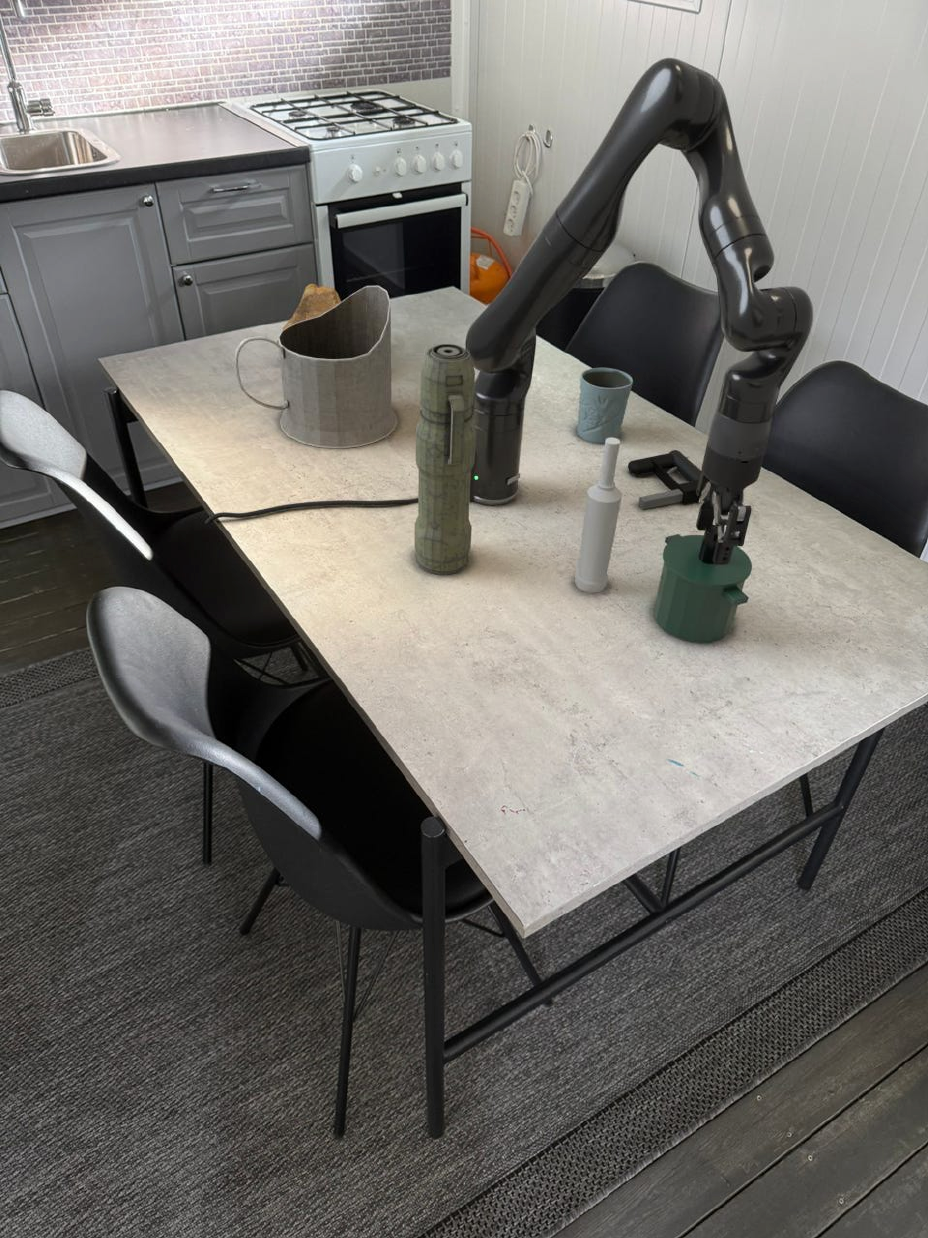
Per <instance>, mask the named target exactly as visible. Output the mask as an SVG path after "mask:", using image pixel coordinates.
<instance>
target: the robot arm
mask: <svg viewBox="0 0 928 1238" xmlns="http://www.w3.org/2000/svg"><path fill="white" fill-rule="evenodd" d="M658 145H661V146H664V147H667V148H670V149H672V150H677V151H679V152H680V153H681V154H682V155H683V157H684V158H685V160H686V161H687V163H688V164H689V166H690V168H691V170H692V172H693V173H694V176H695V179H696V182H697V185H698V191H699V197H698V198H699V199H698V211H697V221H698V222H697V223H698V230H699V233H700V234H699V235H700V237H701V240H702V243H703V246H704V249H705V251H706V254H707V256H708V259H709V261H710V264H711V266H712V268H713V271H714V274H715V276H716V286H717V294H718V304H719V305H718V306H719V321H720V328H721V331H722V335H723V337H724V338H725V340H726V341H727V343H728V344H729V345H730V346H731V347H732V348H734V350H737V351H739V352H742V353H751V354H750V355H748V356H747V357H745V358H743V359H741V360H739V361H737V362H735V363H733V364H731V365H730V366H729V367H728V368H727V370H726V371H725V373H724V377H723V380H722V384H721V387H720V392H719V397H718V401H717V406H716V410H715V412H714V415H713V417H712V420H711V424H710V427H709V433H708V436H707V441H706V446H705V451H704V455H703V459H702V464H701V469H700V470H701V474H700V478H699V482H698V486H697V490H696V494H697V496H701V497H700V498H699V502H698V506H699V509H698V514H697V519H696V522H695V528H696V529H697V531H700V532H701V531H702V532H705V528H706V526H708V525H716V526H718V540H717V543H716V547H715V551H714V555H713V562H714V564H716V565H726V564H728V563H729V562H730V558H731V554H732V550H733V547H734V546H738V547H743V546H744V544H745V540H746V536H747V532H748V527H749V524H750V519H751V516H752V511H753V510H752V506H751V505H744V502H745V496H744V495H745V494H744V491H745V489H746V488H748V487H749V486H751V485H754V484H755V483H756V482H757V481H758V480H759V477H760V474H761V469H762V465H763V462H764V458H765V455H766V450H767V446H768V443H769V440H770V436H771V431H772V423H773V418H774V413H775V409H776V405H777V402H778V400H779V399H778V398H779V396H780V390H781V388H782V385H783V383H784V382H785V380H786V379H787V377H788V375H789V374H790V372H791V371H792V368H793V367H794V365H795V363H796V361H797V359H798V358H799V357H800V354H801V353H802V351H803V349H804V347H805V345H806V343H807V341H808V339H809V337H810V335H811V332H812V327H813V323H814V306H813V302H812V300H811V297H810V296H809V294H808V293H807V292H806V291H805V289H803V288H801V287H799V286H793V285H787V286H786V285H785V286H777V287H776V286H775V287H768V288H767V287H766V288H758V287H757V285H756V284H755V283H758V282H759V281H761V280H762V279H763V278H764V277H766V276H767V275H768V274H769V272H771V270H772V269H773V267H774V264H775V252H774V249H773V245H772V243H771V241H770V239H769V236H768V234H767V232H766V229H765V227H764V224H763V222H762V220H761V216H760V214H759V212H758V211H757V208H756V205H755V203H754V200H753V198H752V195H751V192H750V189H749V186H748V182H747V179H746V177H745V173H744V170H743V166H742V162H741V158H740V154H739V149H738V144H737V141H736V137H735V132H734V127H733V123H732V118H731V112H730V108H729V103H728V99H727V97H726V93H725V91H724V88H723V86H722V84H721V82H720V81H719V80H718V79H717V78H716V77H715V76H714V75H712V74H711V73H709V72H707V71H706V70H703V69H700V68H698V67H696V66H694V65H692V64H690V63H688V62H686V61H683V60H682V59H678V58H675V57H666V58H661V59H658V61H656V62H654V63H653V64H651V66H650V67H648V69H647V70H646V71H644V72H643V74H642V75H641V76H640V78H639V79H638V81H637V82H636V83H635V85H634V87H633V88H632V90H630V93H629V95H628V96H627V98H626V99H625V101H624V103H623V105H622V106H621V108H620V110H619V112H618V114H617V115H616V117H615V119H614V121H613V122H612V124H611V125H610V128H609V129H608V131H607V133H606V135H605V136H604V138H603V139H602V141H601V143H600V145H599V146H598V148H597V149H596V151H595V153H594V154H593V155H592V157H591V159H590V160H589V162H588V163H587V164H586V166H585V168H584V169H583V170H582V172H581V173H580V175H579V176H578V178H577V180H576V181H575V182H574V184H573V185H572V187H571V188H570V190H569V191H568V192H567V194H566V195H565V196H564V197H563V199H562V200H561V201H560V203H559V204H558V205H557V206H556V208H555V209H554V211H553V212H552V214H551V215H550V216H549V217H548V219H547V221H546V222H545V223H544V225H543V227H542V228H541V230H540V231H539V233H538V234H537V236H536V237H535V239H534V240H533V242H532V243H531V245H530V247H529V248H528V250H527V251H526V253H524V256H523V257H522V259H521V260H520V262H519V264H518V265H517V267H516V268H515V271H514V272H513V273H512V276H511V277H510V279H509V280H508V281H507V283H506V284H505V286H504V287H503V288H502V290H501V291H500V292H499V293H498V294H497V295H496V297H495V298H494V299H493V300H492V301H491V303H490V304H489V305H488V306H487V307H486V308H485V310H483V312H482V313H480V315H478V317H477V318H476V319H475V320H474V321H473V322H472V323H471V324H470V326H469V327H468V330H467V333H466V337H465V344H464V345H465V346H464V349H466V350H468V351H469V353H470V356H471V360H472V363H473V367H474V369H475V370H477V371H479V372H478V375H477V377H475V378H476V379H475V381H474V401H473V406H472V412H473V423H474V427H475V430H476V445H475V463H474V466H473V468H472V470H471V480H470V500H469V502H470V501H473V502H476V503H479V504H481V505H488V506H501V505H505V504H508V503H511V502H512V501H514V500H515V499H516V498H517V497H518V495H519V494H518V493H519V479H521V472H520V466H521V464H520V463H521V453H522V443H523V442H522V441H523V432H524V421H525V420H524V419H525V408H526V399H527V395H528V393H529V391H530V387H531V385H532V380H533V374H534V373H533V372H534V365H535V357H536V350H537V348H536V347H537V330H536V327H537V325H538V324H539V323H540V321H541V320H542V319H543V318H544V317H545V315H547V313H548V312H549V311H550V310H552V309H553V308H554V307H555V306H556V305H557V304H558V303H559V302H560V301H562V300H563V299H564V298H565V297H566V296H567V295H568V294H569V293H570V292H571V291H572V290H573V289H575V287H576V286H578V284H580V283H581V281H582V280H583V279H584V278H585V277H586V276H587V275H588V274H589V272H590V271H592V270H593V268H594V267H595V266H596V264H597V263H598V262H599V260H601V258H602V257H603V256H604V254H605V253H606V252H607V250H609V248H610V247H611V246H612V244H613V242H614V241H615V239H616V236H617V235H618V232H619V230H620V226H621V222H622V219H623V213H624V206H625V200H626V194H627V191H628V188H629V185H630V182H631V181H632V179H633V177H634V175H635V174H636V172H637V171H638V170H639V168H640V167H641V165H642V163H643V162H644V161H645V160H646V158H647V157H648V156H649V155H650V153H651V152H652V151H653V150H654V149H655V148H656V147H657V146H658ZM705 483H707V484H706V487H704V484H705ZM416 503H417V504H418V497H416V498H410V499H409V498H408V499H386V500H385V499H384V500H355V499H354V500H351V499H350V500H348V499H346V500H345V499H344V500H343V499H341V500H320V501H319V500H317V501H305V502H295V503H288V504H282V505H277V506H271V507H267V508H262V509H258V510H257V509H256V510H253V511H247V512H227V511H226V512H225V511H221V512H217V513H214V514H212V515H211V516H209V517H207V519H206V520H205V521H204V524H206V525H208V524H212V523H213V522H214V521H215V520H217V519H220V518H232V519H244V518H251V517H256V516H262V515H266V514H271V513H276V512H281V511H285V510H292V509H293V510H294V509H301V508H311V507H328V506H329V507H331V506H368V507H370V506H371V507H373V506H374V507H377V506H378V507H379V506H396V505H397V506H400V505H401V506H402V505H412V504H416ZM722 516H724V517H725V516H727V519H726V518H723V517H722Z"/></svg>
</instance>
